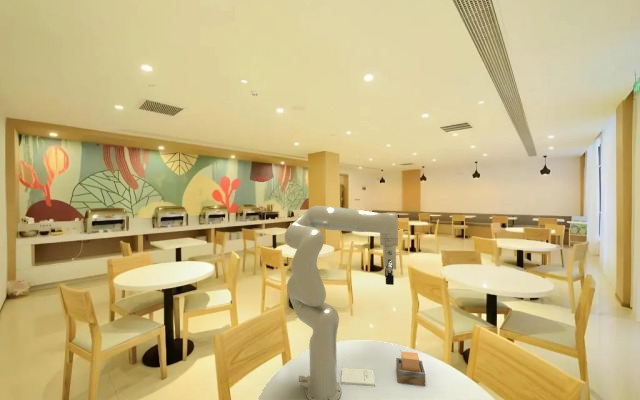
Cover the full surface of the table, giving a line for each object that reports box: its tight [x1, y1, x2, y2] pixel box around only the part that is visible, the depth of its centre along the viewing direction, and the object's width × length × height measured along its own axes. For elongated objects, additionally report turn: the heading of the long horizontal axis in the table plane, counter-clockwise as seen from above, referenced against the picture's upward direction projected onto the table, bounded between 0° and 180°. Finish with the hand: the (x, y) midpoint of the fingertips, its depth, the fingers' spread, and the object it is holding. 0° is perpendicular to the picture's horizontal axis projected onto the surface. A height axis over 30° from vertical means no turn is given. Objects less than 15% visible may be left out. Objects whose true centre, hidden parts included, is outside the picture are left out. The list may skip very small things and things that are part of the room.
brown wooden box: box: [395, 357, 426, 387], centre depth 104 cm, size 10×8×4 cm
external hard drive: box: [340, 367, 376, 387], centre depth 104 cm, size 2×8×12 cm
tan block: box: [401, 350, 420, 372], centre depth 104 cm, size 6×4×6 cm
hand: (389, 280), depth 118 cm, fingers open, 9 cm apart
